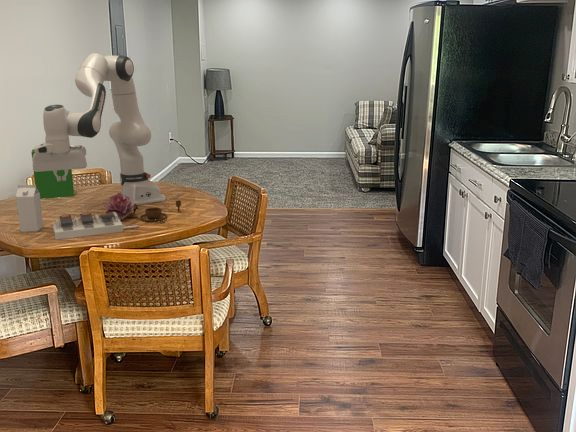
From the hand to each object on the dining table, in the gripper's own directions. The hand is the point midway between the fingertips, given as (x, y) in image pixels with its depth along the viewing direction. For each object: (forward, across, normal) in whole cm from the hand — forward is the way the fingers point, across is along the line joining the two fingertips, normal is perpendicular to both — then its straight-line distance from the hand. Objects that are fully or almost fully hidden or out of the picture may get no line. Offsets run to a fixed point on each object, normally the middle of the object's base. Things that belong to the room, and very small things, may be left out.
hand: (61, 180), depth 229 cm
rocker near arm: (+17, -16, +3) cm, 24 cm away
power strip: (+21, -11, +4) cm, 24 cm away
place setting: (+22, -41, -3) cm, 46 cm away
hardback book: (+21, 0, -66) cm, 69 cm away
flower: (+21, -24, -12) cm, 34 cm away
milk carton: (+21, +13, -7) cm, 26 cm away
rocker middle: (+17, -8, +2) cm, 19 cm away
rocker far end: (+17, 0, +2) cm, 17 cm away
